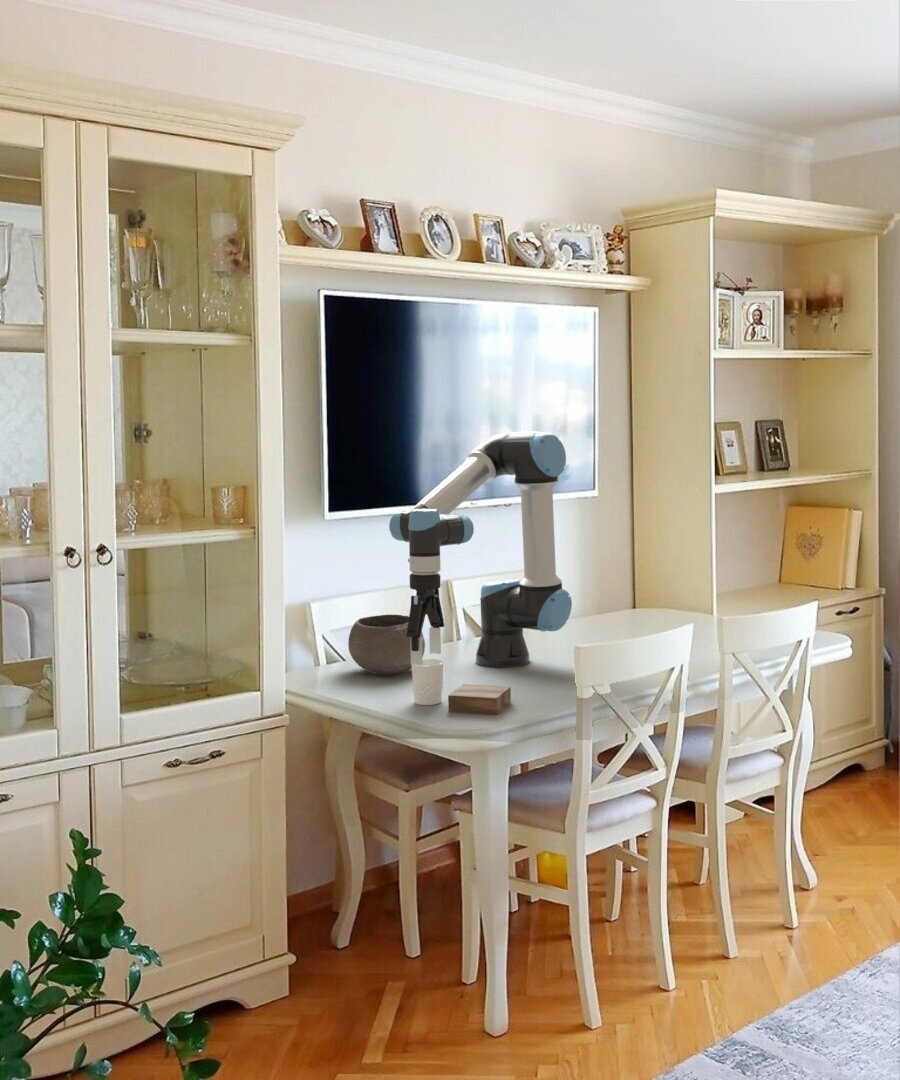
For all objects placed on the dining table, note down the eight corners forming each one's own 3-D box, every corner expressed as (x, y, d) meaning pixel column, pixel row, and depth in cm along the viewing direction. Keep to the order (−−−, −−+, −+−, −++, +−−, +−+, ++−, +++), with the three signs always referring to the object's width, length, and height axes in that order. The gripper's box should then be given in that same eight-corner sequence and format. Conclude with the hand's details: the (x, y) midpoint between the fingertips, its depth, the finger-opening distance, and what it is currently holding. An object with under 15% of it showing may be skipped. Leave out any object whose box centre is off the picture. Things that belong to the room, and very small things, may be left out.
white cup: (447, 704, 306) (447, 664, 305) (416, 707, 304) (415, 666, 303) (439, 697, 314) (438, 657, 313) (408, 699, 312) (407, 660, 310)
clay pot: (423, 680, 332) (422, 624, 331) (345, 681, 333) (343, 626, 331) (427, 663, 353) (426, 611, 352) (353, 664, 354) (352, 612, 352)
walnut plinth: (463, 700, 310) (463, 684, 310) (510, 702, 306) (510, 686, 306) (448, 711, 299) (448, 695, 298) (496, 714, 295) (496, 698, 295)
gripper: (427, 566, 318) (428, 648, 320) (392, 578, 295) (393, 667, 297) (455, 566, 316) (456, 650, 318) (422, 579, 292) (423, 669, 294)
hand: (426, 658), depth 307 cm, fingers open, 13 cm apart
